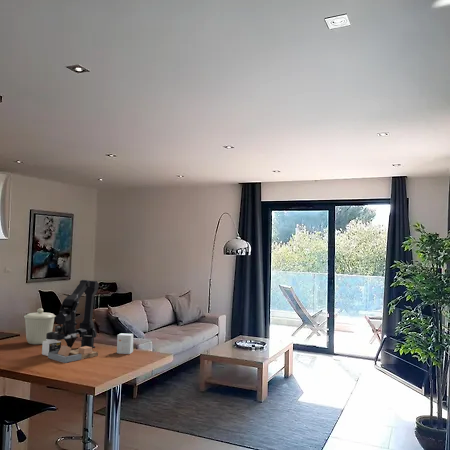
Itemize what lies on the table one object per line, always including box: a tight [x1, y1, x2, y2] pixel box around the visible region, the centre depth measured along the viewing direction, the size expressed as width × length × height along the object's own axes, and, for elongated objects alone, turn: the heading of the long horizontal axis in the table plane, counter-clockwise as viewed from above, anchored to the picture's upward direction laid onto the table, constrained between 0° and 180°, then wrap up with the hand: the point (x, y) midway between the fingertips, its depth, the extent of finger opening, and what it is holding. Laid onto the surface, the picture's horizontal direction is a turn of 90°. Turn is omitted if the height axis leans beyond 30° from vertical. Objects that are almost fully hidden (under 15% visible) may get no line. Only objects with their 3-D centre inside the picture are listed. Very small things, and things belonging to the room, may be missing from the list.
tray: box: [47, 351, 82, 364], centre depth 231 cm, size 10×15×3 cm, turn 55°
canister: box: [23, 307, 57, 345], centre depth 269 cm, size 18×18×21 cm
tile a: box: [58, 344, 73, 357], centre depth 235 cm, size 5×5×3 cm
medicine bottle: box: [41, 331, 62, 357], centre depth 240 cm, size 7×7×12 cm
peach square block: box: [78, 346, 93, 354], centre depth 237 cm, size 5×5×3 cm
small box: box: [116, 332, 134, 355], centre depth 250 cm, size 8×6×10 cm
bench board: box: [68, 348, 99, 360], centre depth 240 cm, size 11×14×2 cm
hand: (69, 350), depth 238 cm, fingers closed
